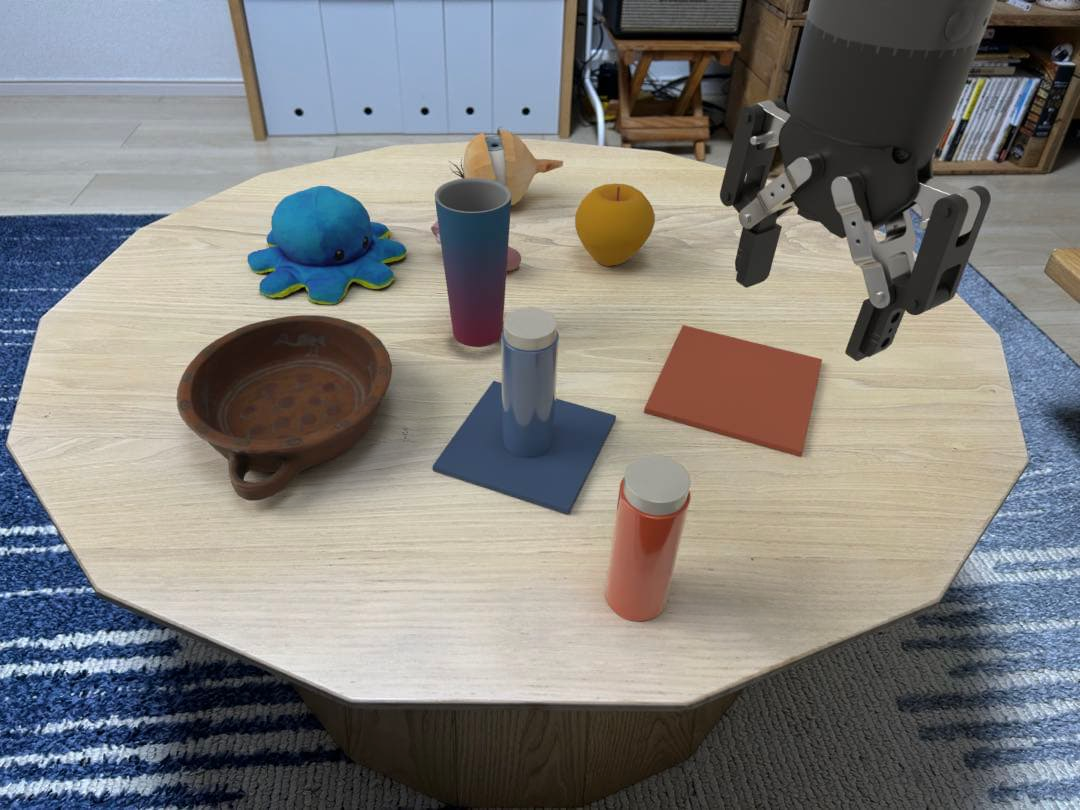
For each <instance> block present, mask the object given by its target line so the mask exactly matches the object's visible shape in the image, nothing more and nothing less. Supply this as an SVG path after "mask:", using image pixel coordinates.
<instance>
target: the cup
mask: <svg viewBox="0 0 1080 810" xmlns="http://www.w3.org/2000/svg"><path fill="white" fill-rule="evenodd" d="M511 196H512V195H511V192H510V190H509V189H508V188H507V187H506V186H505V185H503V184H501V183H499V182H497V181H494V180H490V179H484V178H463V179H462V178H457V179H453V180H450V181H447V182H445V183H443V184H441V185H440V186H439V187H438V188H437V189H436V190H435V192H434V202H435V210H436V217H437V220H438V225H439V233H440V240H441V245H440V247H441V254H442V261H443V269H444V276H445V284H446V291H447V298H448V299H447V300H448V305H449V306H448V307H449V313H450V322H451V329H452V334H453V337H454V338H455V339H456V341H458V342H459V343H461V344H463V345H466V346H469V347H486V346H489V345H492V344H494V343H496V342H497V341H499V339H501V334H502V331H503V329H504V317H505V316H504V314H505V300H506V286H507V285H506V284H507V256H508V246H509V240H510V225H511V222H510V221H511V212H512V211H511V209H512V206H511Z"/></svg>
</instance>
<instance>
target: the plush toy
mask: <svg viewBox="0 0 1080 810" xmlns="http://www.w3.org/2000/svg"><path fill="white" fill-rule="evenodd" d="M270 224H271V225H270V226H271V230H270V231H269V232H268V234H267V235H266V239H265V240H266V243H267V246H268V247H266V248H263V249H258V250H254V251H252V252H250V253H249V254H248V255H247V263H248V266H249V267H250V270H251V271H252V272H253V273H256V274H264V273H268V272H269V274H267V275H266V276H264V278H262V280H261V281H260V282H259V285H258V286H259V288H258V291H259V292H260V293H261V294H263V296H265V297H269V298H271V299H272V298H273V299H275V298H283V297H285V296H288V295H290V294H291V293H294V292H296V291H299V290H300V289H302V288H305V290H306V292H307V298H308V300H309V302H312V303H317V304H318V305H327V306H329V305H336V304H339V303H340V302H341V301H343V299H344V297H345V296H346V294H347V293H348V290H349V286H350V285H351V284H352V283H353V282H354V283H357V284H359V285H362V286H363V287H364V288H366V289H371V290H372V289H375V290H379V289H383V288H386V287H389V286H390V285H391V284H392V283H393V281H394V280H395V279H396V276H395V273H394V272H393V270H392V268H390V266H388V265H387V264H388V263H393V262H398V261H400V260H403V259H404V258H406V257H407V254H408V253H407V252H408V251H407V248H406V246H405V245H404V244H403V243H401V242H400V241H397V240H392V239H390V238H389V236H391V230H390V229H389V227H388V226H387V225H386V224H383V223H381V222H377V221H376V222H375V221H371V217H370V215H369V213H368V210H367V208H366V207H365V206H364V204H362V202H360V200H358V199H357V198H355V197H354V196H352V195H350V194H347V193H345V192H343V191H341V190H339V189H337V188H335V187H331V186H329V185H316V186H311V187H309V188H306V189H304V190H299V191H297V192H295V193H292V194H288V195H287V196H285V197H284V198H282V199H281V200H280V201H279V203H278V204H277V205H276V206H275V208H274V211H273V214H272V216H271V222H270Z"/></svg>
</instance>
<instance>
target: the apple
mask: <svg viewBox="0 0 1080 810" xmlns="http://www.w3.org/2000/svg"><path fill="white" fill-rule="evenodd" d="M654 211H655V210H654V208H653V205H652V203H651V202H650V201H649V199H648V198H647V196H646V195H645V194H644V193H643V192H642V191H641V190H639V189H638V188H636V187H634V186H632V185H629V184H625V183H605V184H602V185H599V186H597V187H594V188H593V189H592V190H590V191H589V192H588V194H586V195H585V196H584V197H583V198H582V199H581V200H580V202H579V205H578V207H577V209H576V212H575V216H574V223H575V224H574V227H575V230H576V234H577V236H578V239H579V241H580V242H581V244H582V245H583V247H584V249H585V250H586V252H587V253H588V254H589V255H590V257H591V258H592V260H594V261H595V262H597V263H598V264H599V265H602V266H604V267H613V266H618V265H621V264H623V263H625V262H626V261H628V260H629V259H630V258H631V257H632V256H633V255H635V254H636V253H637V252H639V251H640V250H641V249H642V247H643V246H644V245H645V243H646V242H647V240H648V239H649V237H650V236H651V234H652V232H653V229H654V226H655V223H656V214H655V212H654Z"/></svg>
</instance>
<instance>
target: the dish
mask: <svg viewBox="0 0 1080 810" xmlns="http://www.w3.org/2000/svg"><path fill="white" fill-rule="evenodd" d="M392 373H393V366H392V362H391V357H390V354H389V352H388V349H387V348H386V346H385V344H384V343H383V342H382V340H381V339H380V338H378V336H376V335H375V334H374V333H372V332H371V331H370V330H369V329H367V328H366V327H364V326H362V325H360V324H357V323H354V322H351V321H349V320H345V319H342V318H337V317H332V316H327V315H316V314H315V315H314V314H313V315H312V314H299V315H298V314H297V315H289V316H282V317H277V318H271V319H266V320H262V321H257V322H254V323H249V324H247V325H244V326H242V327H238V328H237V329H235V330H233V331H230V332H229V333H226V334H224V335H223V336H221V337H219V338H217V339H215V340H214V341H212V342H211V343H210V344H207V346H205V347H204V348H203V349H201V351H199V353H198V354H197V355H195V357H194V358H193V360H191V361H190V363H188V366H187V367H186V368H185V370H184V371H183V373H182V375H181V378H180V380H179V383H178V387H177V390H176V407H177V411H178V413H179V415H180V418H181V419H182V420H183V422H184V423H185V425H186V426H187V427H188V429H190V430H191V431H192V432H193V433H195V435H196V436H198V437H199V438H200V439H202V440H203V441H206V442H207V443H208V444H209V445H210V446H211V447H212V448H213V449H214V450H216V451H217V452H218V453H219V454H221V456H223V457H224V458H225V459H227V460H228V466H227V467H228V468H227V470H228V475H229V479H230V482H231V485H232V487H233V489H234V491H235V493H236V494H237V495H238V497H240V498H241V499H243V500H246V501H249V502H256V501H260V500H261V501H262V500H265V499H268V498H271V497H274V496H275V495H277V494H279V493H280V492H282V491H284V490H285V489H286V488H287V487H288V486H289V485H290V484H291V483H292V482H293V480H294V479H295V478H296V477H297V476H298V474H299V473H300V472H301V471H302V470H304V469H307V468H310V467H314V466H317V465H319V464H322V463H324V462H327V461H329V460H331V459H333V458H335V457H337V456H339V455H341V454H342V453H344V452H346V451H347V450H348V449H350V448H351V447H353V445H355V444H356V443H357V442H358V441H359V440H360V439H361V438H362V437H363V436H364V435H365V433H366V432H367V431H368V430H369V428H370V427H371V426H372V424H373V421H374V420H375V417H376V416H377V413H378V410H379V407H380V405H381V402H382V400H383V398H384V397H385V395H386V393H387V391H388V389H389V387H390V383H391V379H392ZM251 471H254V472H255V471H256V472H275V473H274V474H271V475H270V476H269V477H267V478H266V479H263V480H261V481H255V482H252V481H246V480H244V479H245V476H246V475H247V473H248V472H251Z"/></svg>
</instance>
